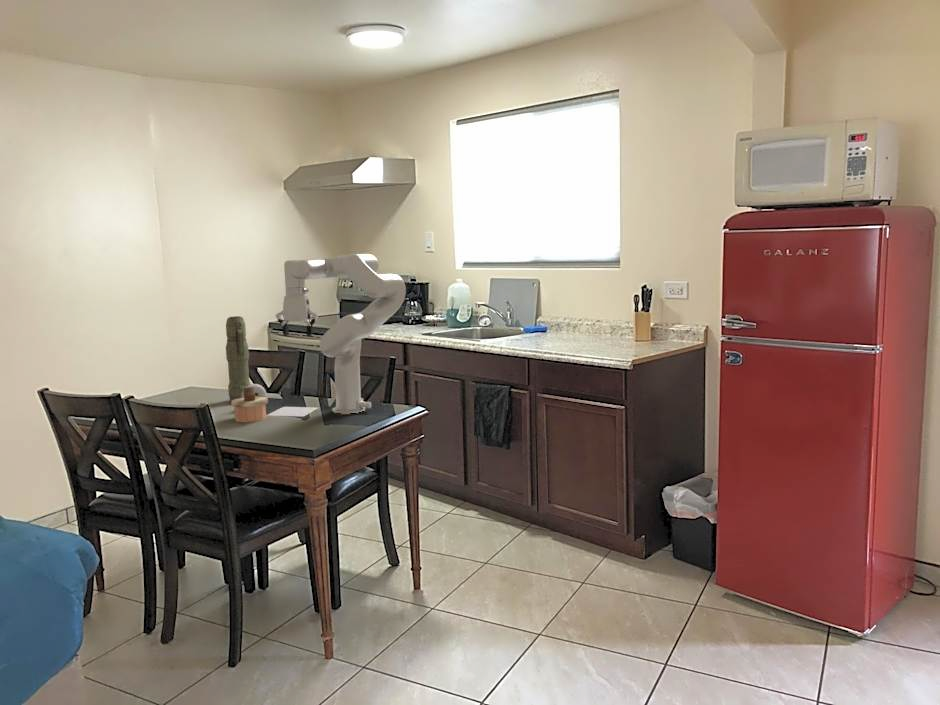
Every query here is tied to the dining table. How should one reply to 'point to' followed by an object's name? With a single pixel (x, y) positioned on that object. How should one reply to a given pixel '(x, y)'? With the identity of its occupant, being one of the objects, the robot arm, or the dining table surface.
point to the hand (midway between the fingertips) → (297, 335)
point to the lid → (249, 399)
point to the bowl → (250, 413)
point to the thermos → (237, 356)
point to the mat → (293, 411)
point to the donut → (257, 390)
